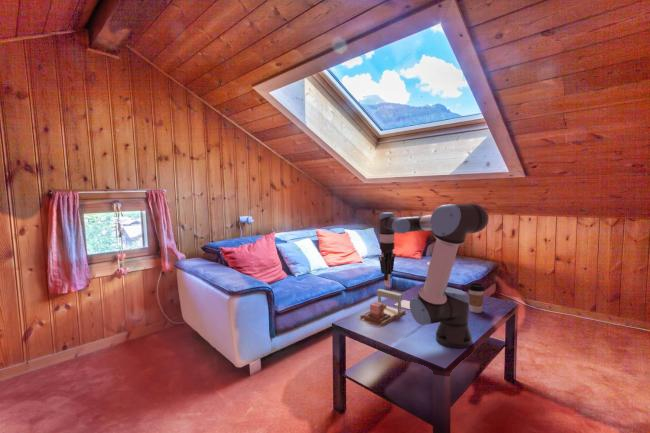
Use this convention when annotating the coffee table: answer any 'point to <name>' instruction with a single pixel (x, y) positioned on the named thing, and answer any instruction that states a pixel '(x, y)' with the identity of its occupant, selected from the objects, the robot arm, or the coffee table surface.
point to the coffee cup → (476, 297)
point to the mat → (404, 304)
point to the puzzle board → (389, 316)
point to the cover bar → (390, 297)
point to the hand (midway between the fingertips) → (387, 286)
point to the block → (377, 310)
